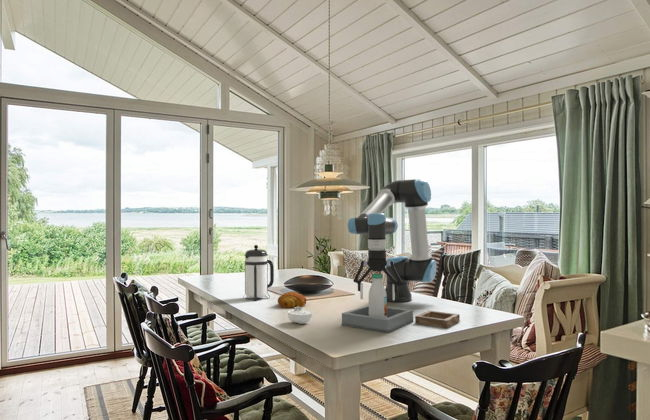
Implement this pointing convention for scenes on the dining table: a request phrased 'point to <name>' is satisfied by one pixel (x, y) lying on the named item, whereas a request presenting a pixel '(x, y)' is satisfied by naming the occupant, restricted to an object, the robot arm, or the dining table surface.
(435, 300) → the dining table surface
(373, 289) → the milk bottle
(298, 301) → the croissant
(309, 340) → the dining table surface
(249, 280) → the coffee press
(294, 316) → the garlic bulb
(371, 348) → the dining table surface
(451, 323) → the wooden square tray
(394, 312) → the charcoal tray
